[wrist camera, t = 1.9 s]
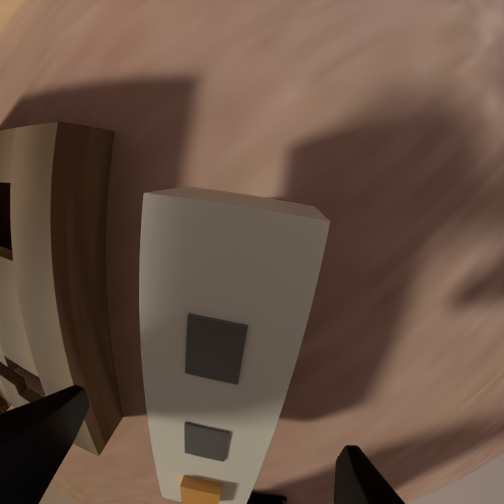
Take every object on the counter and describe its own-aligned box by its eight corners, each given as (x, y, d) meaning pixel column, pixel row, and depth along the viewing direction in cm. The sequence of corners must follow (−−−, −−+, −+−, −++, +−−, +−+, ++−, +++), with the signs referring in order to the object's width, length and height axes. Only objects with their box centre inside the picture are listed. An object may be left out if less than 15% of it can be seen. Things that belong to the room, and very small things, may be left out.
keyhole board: (113, 131, 11) (57, 121, 8) (122, 417, 16) (99, 456, 12) (-12, 141, 12) (-54, 143, 8) (12, 361, 17) (-15, 384, 13)
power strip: (306, 198, 11) (335, 227, 5) (253, 434, 15) (240, 523, 9) (209, 183, 12) (130, 195, 5) (190, 421, 15) (158, 505, 9)
